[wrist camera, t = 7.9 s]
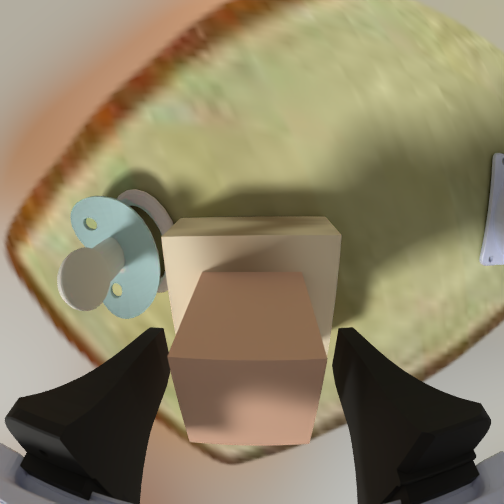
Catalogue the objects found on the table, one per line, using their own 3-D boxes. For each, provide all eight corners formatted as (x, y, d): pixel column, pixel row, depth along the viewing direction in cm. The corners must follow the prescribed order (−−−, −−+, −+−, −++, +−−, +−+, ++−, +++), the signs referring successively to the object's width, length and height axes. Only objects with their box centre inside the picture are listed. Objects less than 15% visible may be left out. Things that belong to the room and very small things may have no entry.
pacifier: (162, 170, 16) (78, 201, 16) (115, 185, 10) (14, 229, 10) (199, 287, 18) (117, 304, 18) (178, 351, 12) (77, 361, 13)
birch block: (325, 216, 16) (341, 235, 13) (315, 336, 19) (324, 372, 16) (180, 218, 16) (161, 236, 13) (193, 337, 19) (183, 371, 16)
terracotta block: (301, 271, 13) (327, 358, 8) (295, 350, 15) (309, 443, 9) (202, 271, 14) (167, 356, 8) (209, 349, 15) (190, 441, 9)
